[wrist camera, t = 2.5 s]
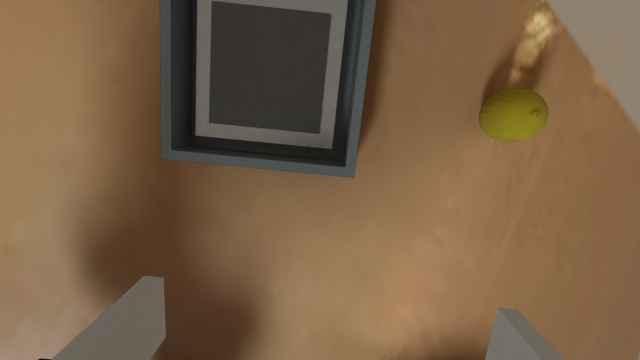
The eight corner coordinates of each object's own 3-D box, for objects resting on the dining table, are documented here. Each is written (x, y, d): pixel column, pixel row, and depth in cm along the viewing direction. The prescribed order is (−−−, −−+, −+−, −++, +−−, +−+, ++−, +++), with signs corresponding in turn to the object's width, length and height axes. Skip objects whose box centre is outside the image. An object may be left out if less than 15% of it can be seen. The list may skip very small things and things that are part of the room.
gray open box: (348, 168, 37) (354, 179, 31) (186, 152, 37) (158, 159, 30) (370, -14, 33) (382, -45, 27) (188, -34, 33) (155, -71, 26)
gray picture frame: (331, 148, 34) (331, 149, 33) (199, 134, 34) (194, 135, 33) (347, 3, 31) (348, -2, 30) (201, -13, 31) (196, -18, 30)
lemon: (487, 148, 37) (531, 156, 29) (457, 115, 36) (495, 115, 28) (523, 114, 36) (579, 114, 28) (493, 80, 35) (543, 70, 27)
